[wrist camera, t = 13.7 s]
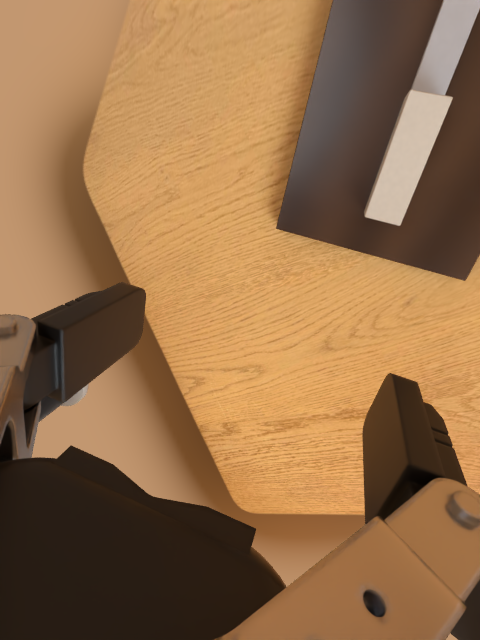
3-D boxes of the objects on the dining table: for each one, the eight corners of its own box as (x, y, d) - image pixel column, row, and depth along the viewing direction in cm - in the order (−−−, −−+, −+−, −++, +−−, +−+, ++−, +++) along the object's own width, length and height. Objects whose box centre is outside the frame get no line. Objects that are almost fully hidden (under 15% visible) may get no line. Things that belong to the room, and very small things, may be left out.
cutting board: (279, 226, 32) (275, 228, 30) (378, -166, 21) (379, -188, 19) (460, 275, 29) (465, 280, 27) (688, -153, 18) (714, -178, 16)
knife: (396, 220, 27) (400, 226, 25) (363, 212, 28) (364, 216, 25) (527, -103, 19) (553, -147, 16) (477, -107, 20) (495, -149, 17)
